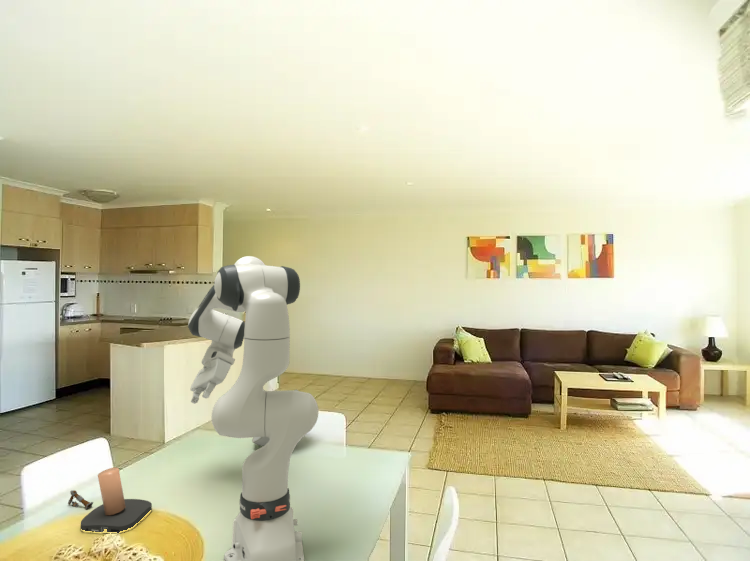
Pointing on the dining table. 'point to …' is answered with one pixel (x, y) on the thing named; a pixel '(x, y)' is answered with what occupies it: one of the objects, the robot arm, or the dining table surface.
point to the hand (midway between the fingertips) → (199, 400)
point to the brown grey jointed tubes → (78, 498)
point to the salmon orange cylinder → (111, 491)
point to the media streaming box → (116, 517)
